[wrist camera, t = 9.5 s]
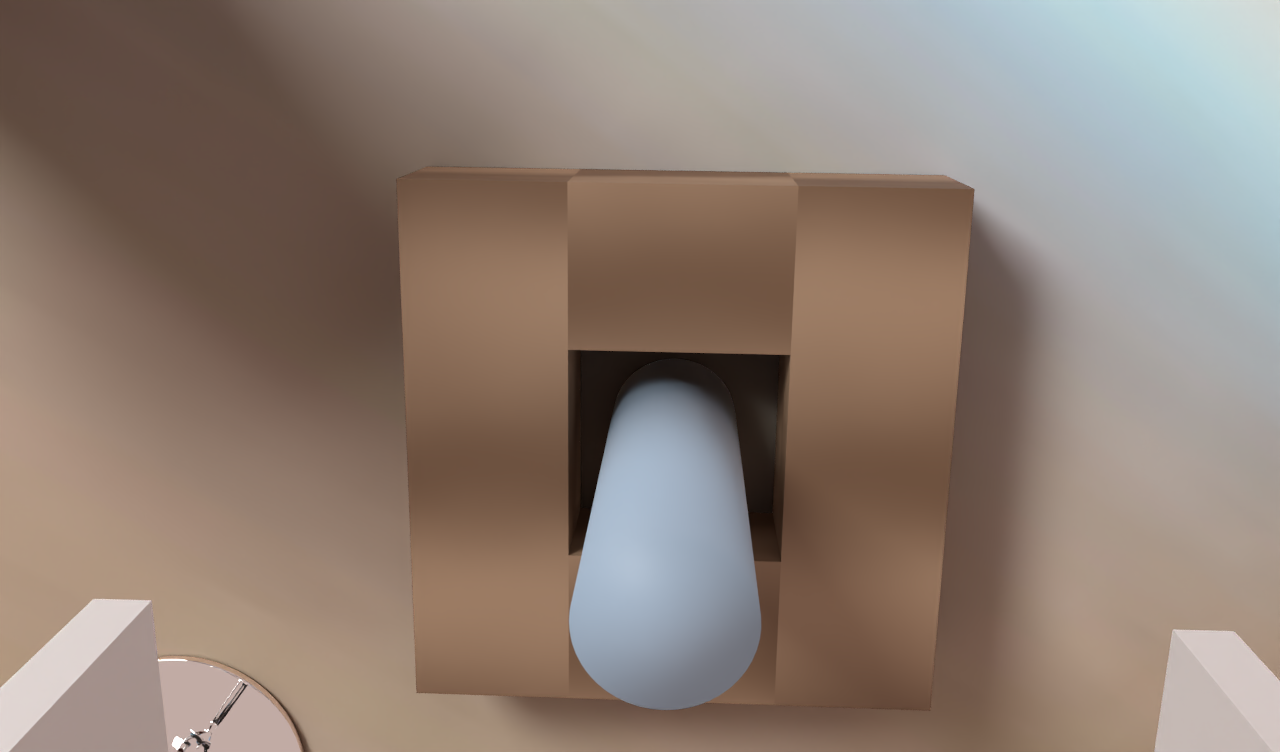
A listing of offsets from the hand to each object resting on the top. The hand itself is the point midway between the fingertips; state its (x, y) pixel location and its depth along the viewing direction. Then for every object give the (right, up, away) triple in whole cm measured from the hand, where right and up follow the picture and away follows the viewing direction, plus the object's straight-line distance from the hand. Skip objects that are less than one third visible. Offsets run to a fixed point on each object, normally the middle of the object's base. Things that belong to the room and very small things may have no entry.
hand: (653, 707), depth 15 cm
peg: (+1, +3, +14) cm, 14 cm away
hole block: (+1, +3, +14) cm, 14 cm away
